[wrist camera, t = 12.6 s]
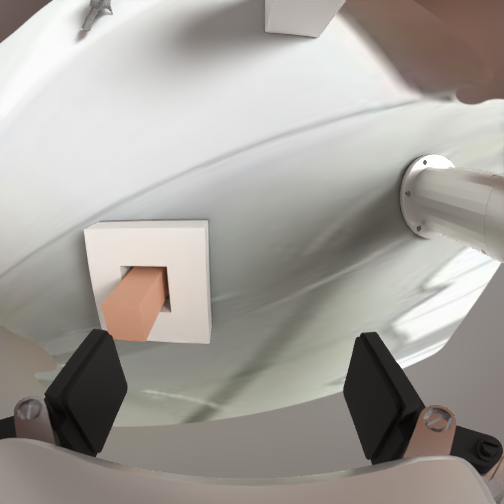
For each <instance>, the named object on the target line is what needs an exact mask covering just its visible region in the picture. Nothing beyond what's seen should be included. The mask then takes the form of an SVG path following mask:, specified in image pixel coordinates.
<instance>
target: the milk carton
mask: <svg viewBox="0 0 504 504" xmlns="http://www.w3.org/2000/svg"><path fill="white" fill-rule="evenodd" d="M345 1H346V0H265V32H270V33H283V34H294V35H303V36H311V37H319V36H320V35H321V34H322V32H323V31H324V29H325V28H326V27H327V25H328V24H329V23H330V21H331V20H332V18H333V17H334V16H335V14H336V13H337V12H338V10H339V9H340V8H341V6H342V5H343V4H344V2H345Z"/></svg>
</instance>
